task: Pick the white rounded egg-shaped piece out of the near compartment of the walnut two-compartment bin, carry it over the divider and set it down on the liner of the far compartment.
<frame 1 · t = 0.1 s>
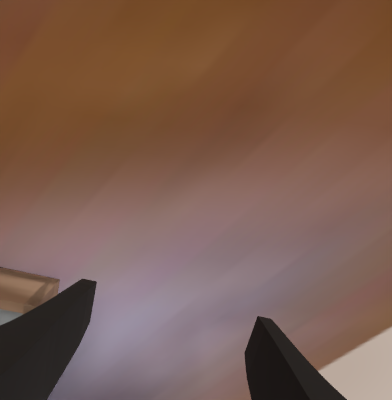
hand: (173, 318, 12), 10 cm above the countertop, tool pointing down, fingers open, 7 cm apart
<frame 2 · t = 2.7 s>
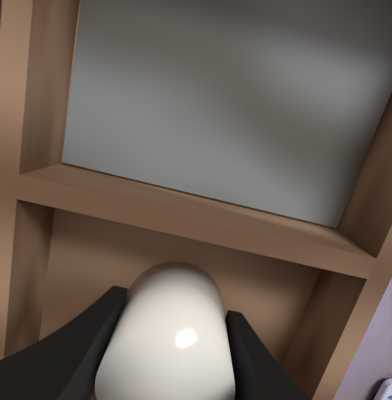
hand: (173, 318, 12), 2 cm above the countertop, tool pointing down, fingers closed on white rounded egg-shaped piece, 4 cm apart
bin: (200, 201, 12), on the countertop
white rounded egg-shaped piece: (175, 304, 13), point 1 cm above the countertop, touching bin, gripper
when the fingers open (3 cm above the countertop, at t = 6.5 s): white rounded egg-shaped piece stays where it is, resting on bin.
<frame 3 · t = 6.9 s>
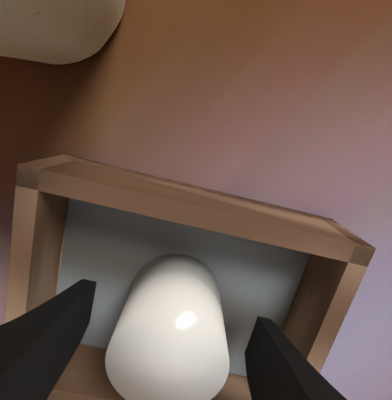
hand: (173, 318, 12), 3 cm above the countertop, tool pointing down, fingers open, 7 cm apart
bin: (159, 353, 16), on the countertop
white rounded egg-shaped piece: (175, 292, 14), point 1 cm above the countertop, touching bin
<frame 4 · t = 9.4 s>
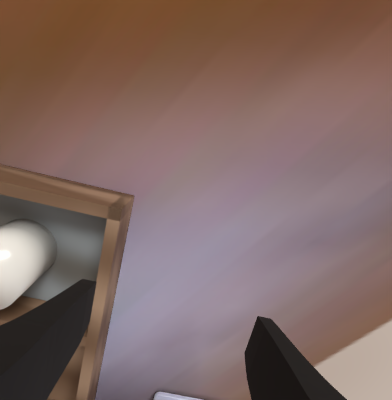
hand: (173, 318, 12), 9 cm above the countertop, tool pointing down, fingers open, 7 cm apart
bin: (29, 294, 22), on the countertop
white rounded egg-shaped piece: (27, 246, 20), point 1 cm above the countertop, touching bin
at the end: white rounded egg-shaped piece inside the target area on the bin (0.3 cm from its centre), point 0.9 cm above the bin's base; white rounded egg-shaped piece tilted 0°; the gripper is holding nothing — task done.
